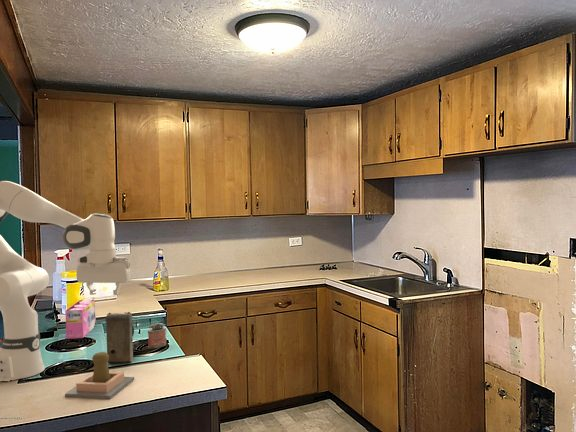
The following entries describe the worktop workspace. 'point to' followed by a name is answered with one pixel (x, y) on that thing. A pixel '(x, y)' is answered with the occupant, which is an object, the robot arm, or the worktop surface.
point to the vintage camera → (120, 337)
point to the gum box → (80, 319)
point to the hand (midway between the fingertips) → (104, 294)
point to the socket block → (100, 386)
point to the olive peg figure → (100, 367)
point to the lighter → (157, 336)
